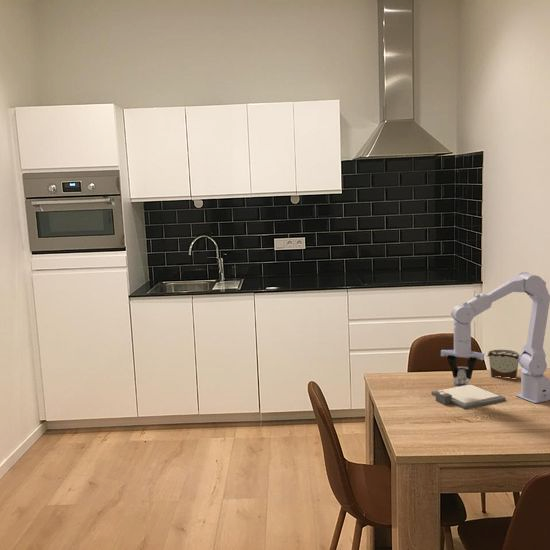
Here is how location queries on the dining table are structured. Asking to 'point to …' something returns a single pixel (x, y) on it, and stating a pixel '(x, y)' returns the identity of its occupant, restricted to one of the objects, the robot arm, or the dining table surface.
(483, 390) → the kitchen scale
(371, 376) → the dining table surface
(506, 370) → the food container
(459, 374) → the steel spacer
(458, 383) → the steel spacer
